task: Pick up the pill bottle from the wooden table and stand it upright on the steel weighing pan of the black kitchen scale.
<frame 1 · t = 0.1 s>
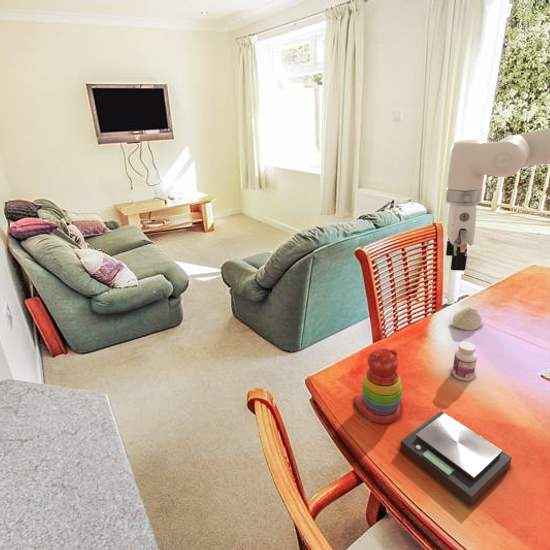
hand: (454, 262, 95), 31 cm above the table, tool pointing down, fingers open, 9 cm apart
scale: (452, 459, 79), on the table
seashell: (465, 324, 125), on the table
weighing pan: (457, 443, 78), point 4 cm above the table, slide at 0.0 cm
pill bottle: (462, 375, 103), on the table
stacking bear: (380, 410, 94), on the table
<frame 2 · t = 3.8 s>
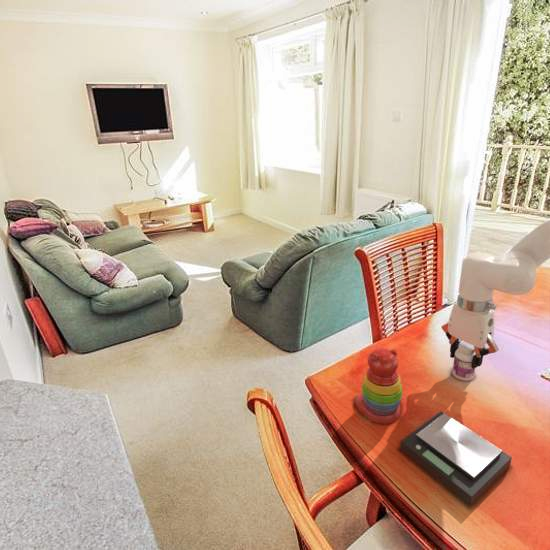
hand: (464, 360, 101), 5 cm above the table, tool pointing down, fingers closed on pill bottle, 5 cm apart
pill bottle: (462, 375, 103), on the table, touching gripper
everything else where it was.
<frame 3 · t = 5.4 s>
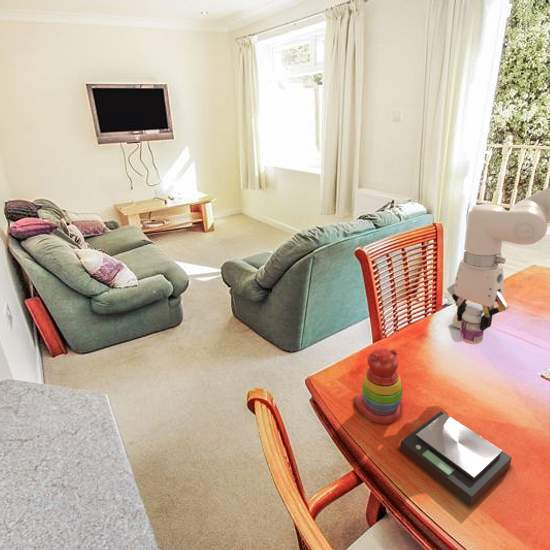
hand: (472, 323, 95), 17 cm above the table, tool pointing down, fingers closed on pill bottle, 5 cm apart
pill bottle: (470, 340, 97), point 12 cm above the table, touching gripper
everything else where it was.
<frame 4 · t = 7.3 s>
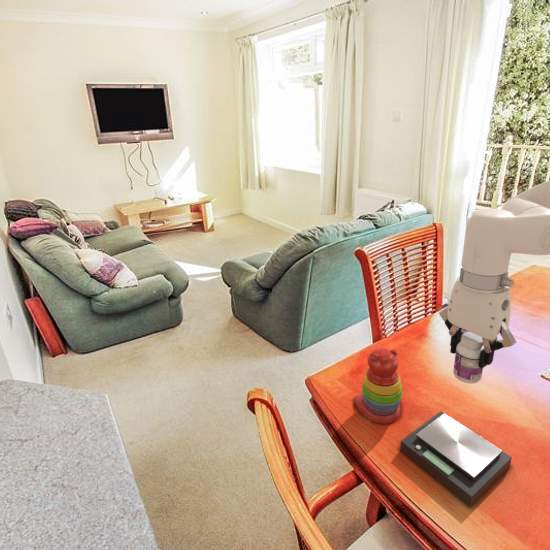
hand: (469, 357, 76), 21 cm above the table, tool pointing down, fingers closed on pill bottle, 5 cm apart
pill bottle: (466, 377, 78), point 16 cm above the table, touching gripper
everything else where it was.
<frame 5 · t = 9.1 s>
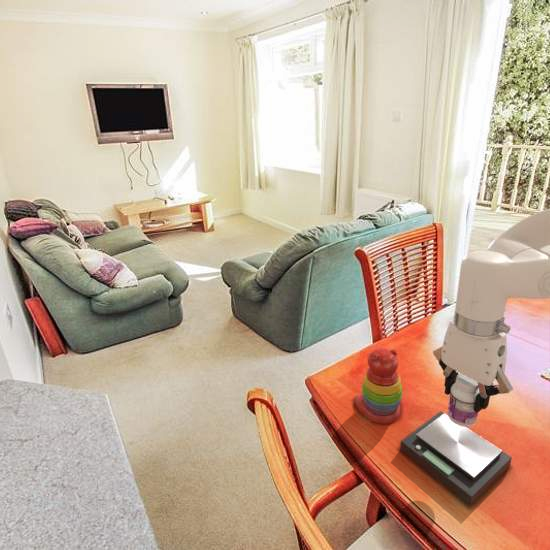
hand: (464, 399, 73), 16 cm above the table, tool pointing down, fingers closed on pill bottle, 5 cm apart
pill bottle: (461, 418, 75), point 11 cm above the table, touching gripper
everything else where it was.
when the fingers open (9 cm above the table, at t = 11.0 s): pill bottle stays where it is, resting on weighing pan.
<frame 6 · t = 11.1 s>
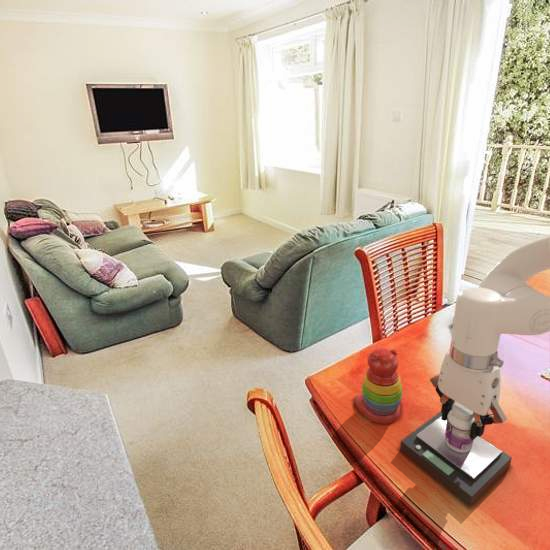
hand: (461, 425, 76), 9 cm above the table, tool pointing down, fingers open, 5 cm apart
weighing pan: (457, 444, 78), point 4 cm above the table, slide at -0.3 cm, touching pill bottle
pill bottle: (458, 443, 78), point 4 cm above the table, touching weighing pan
everything else where it was.
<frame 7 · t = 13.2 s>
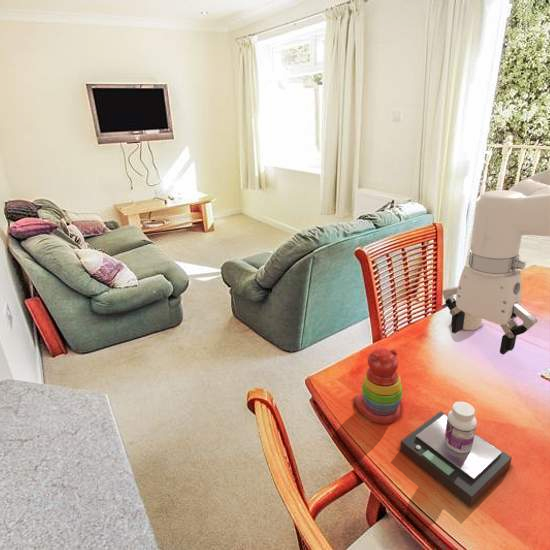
hand: (480, 340, 74), 25 cm above the table, tool pointing down, fingers open, 9 cm apart
nothing on the table moved.
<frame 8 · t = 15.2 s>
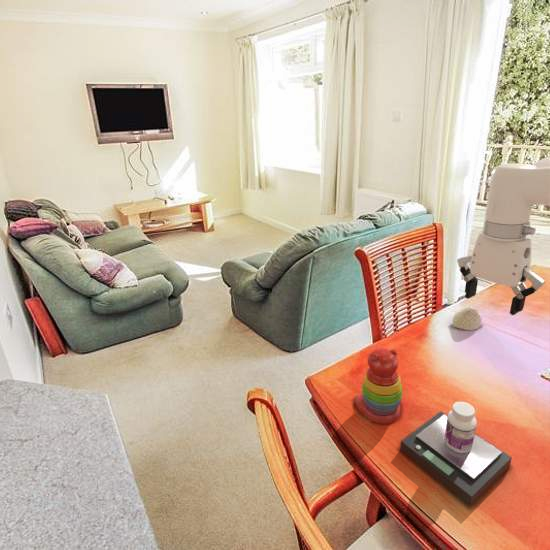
hand: (491, 304, 81), 28 cm above the table, tool pointing down, fingers open, 9 cm apart
nothing on the table moved.
at the end: pill bottle inside the target area on the scale (0.1 cm from its centre), point 3.6 cm above the scale's base; pill bottle tilted 0°; the gripper is holding nothing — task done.
